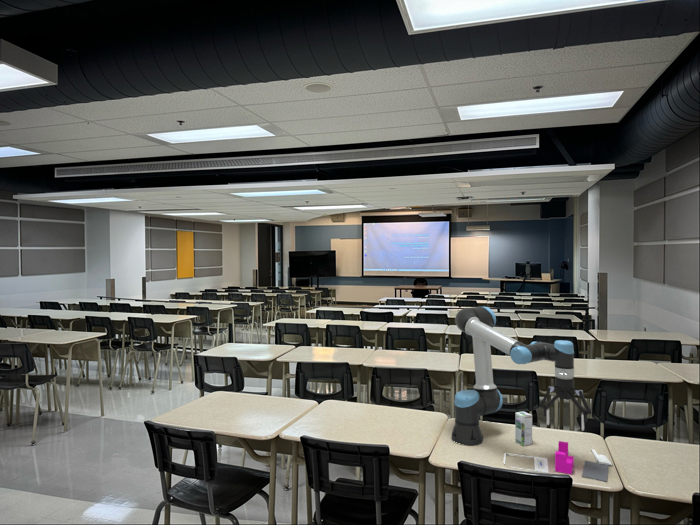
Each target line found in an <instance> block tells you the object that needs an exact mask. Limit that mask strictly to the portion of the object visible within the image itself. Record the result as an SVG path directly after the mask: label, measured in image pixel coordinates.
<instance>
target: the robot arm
mask: <svg viewBox="0 0 700 525" xmlns="http://www.w3.org/2000/svg"><path fill="white" fill-rule="evenodd" d="M454 322H455V325H456V327H457V328H458V330H460V331H461V332H463V333H465V335H468V336H471V337H472V349H473V362H474V375H475V384H474V385H473V386H472V388H473V389H463V390H459V391H457V392H456V393H455V395H454V401H453V402H454V424H453V428H452V431H451V440H452V441H453V442H454V441H455V442H454V443H456V442H457V443H456V444H458V443H460V444H459V445H462V444H464V445H463V446H478V445H481V444H483V443H484V435H483V432H482V430H481V426H480V417H482V416H486V415H489V414H494V413H496V412H498V411H500V410H501V408H502V407H503V403H504V402H503V401H504V400H503V395H502V393H501V392H500V390H499V389H498V388H497V385H496V384H495V383H494V375H493V374H494V373H493V362H492V350H491V346H492V347H494V348H496V349H497V350H499V351H501V352H502V353H505V354H506V355H507V356H510V359H511V360H512V362H513V363H514V364H517V365H526V364H531V363H535V362H540V361H548V362H549V361H550V362H553V363H554V387H553V386H550V385H549V386H548V387H547V388H546V393H545V394H544V396H543V398H542V400H541V402H540V404H539V408H542V409H543V416H544V417H546V426H549V425H550V423H551V422H550V406H551V405H553V403H554V402H555V401H556V400H557V399H558V398H559V399H560V400H567V401H570V400H571V402H573V403H574V406H576V407H577V408H578V409H579V410H580V412H581V414H580V415H581V431H585V423H587V422H588V415H591V414H592V412H593V410H592V409H591V407H590V405H589V403H588V401H587V399H586V397H585V396H584V390H582V389H579V390H577V389H575V362H574V360H575V351H574V349H575V348H574V343H573V342H572V341H570V340H562V339H559V340H555V341H554V342H553V343H549V342H544V341H543V342H542V341H532V342H530V344H525V343H523V342H521V341H519V340H516V339H515V338H513V337H512V336H509V335H507V334H506V333H503V332H501V331H500V330H498V329H496V328H494V327H495V325H496V322H497V318H496V314H495V313H494V311H493V310H492V309H491V308H490V307H488V306H473V307H465V308H462V309H460V310H459V311H457V313H456V314H455V318H454ZM553 392H554V393H555V395H554V396H553V397H552V398H551V399H550V400H549V401H548V402H547V403H546V400H547V399H548V397H549V395H550V394H551V393H553ZM575 394H576V395H577V396H578V397H579V398H580V400H581V402H582V404H583V405H582V404H581V403H580V401H578V400H577V398H576V396H575ZM545 403H546V404H545Z"/></svg>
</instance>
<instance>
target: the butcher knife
mask: <svg viewBox="0 0 700 525" xmlns="http://www.w3.org/2000/svg"><path fill="white" fill-rule="evenodd" d="M590 451H591V453H592V455H594V459H596V462H597V463H599V464H606V465H609V466H613V464H612V462H611V461H610V460H609V458H608V456H606V455H604V454H602V453H600V454H598V453H597V451H596V449H593V448H592V449H590Z"/></svg>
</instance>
